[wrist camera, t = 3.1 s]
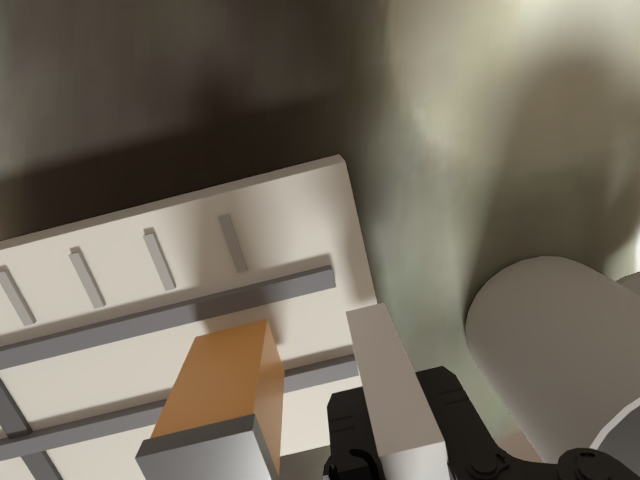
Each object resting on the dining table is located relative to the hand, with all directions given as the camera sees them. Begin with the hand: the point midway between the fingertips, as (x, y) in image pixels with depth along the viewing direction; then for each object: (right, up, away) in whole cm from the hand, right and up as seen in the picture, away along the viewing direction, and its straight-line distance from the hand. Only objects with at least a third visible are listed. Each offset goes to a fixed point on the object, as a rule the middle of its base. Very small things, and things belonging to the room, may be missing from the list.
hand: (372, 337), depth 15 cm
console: (-11, -1, +4) cm, 12 cm away
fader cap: (-5, -1, +1) cm, 5 cm away
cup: (+10, +1, +5) cm, 11 cm away
